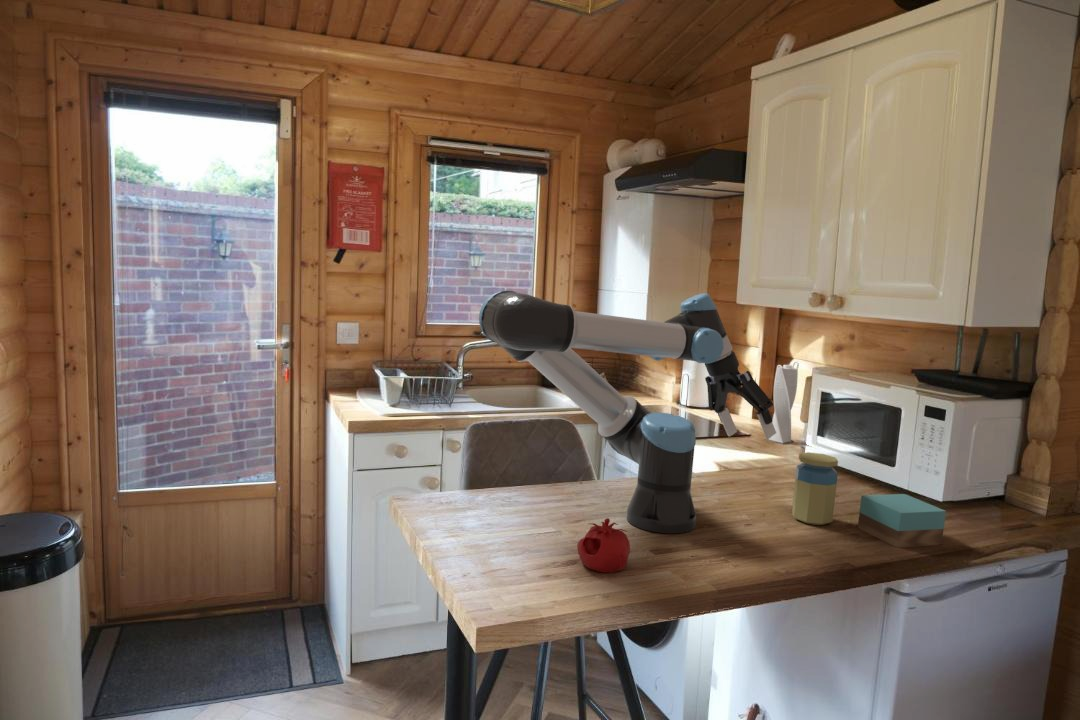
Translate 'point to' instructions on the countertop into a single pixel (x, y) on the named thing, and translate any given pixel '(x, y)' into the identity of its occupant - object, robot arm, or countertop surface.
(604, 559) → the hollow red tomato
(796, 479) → the jar
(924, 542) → the tower base
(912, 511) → the tower top
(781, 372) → the skyscraper
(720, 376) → the robot arm
